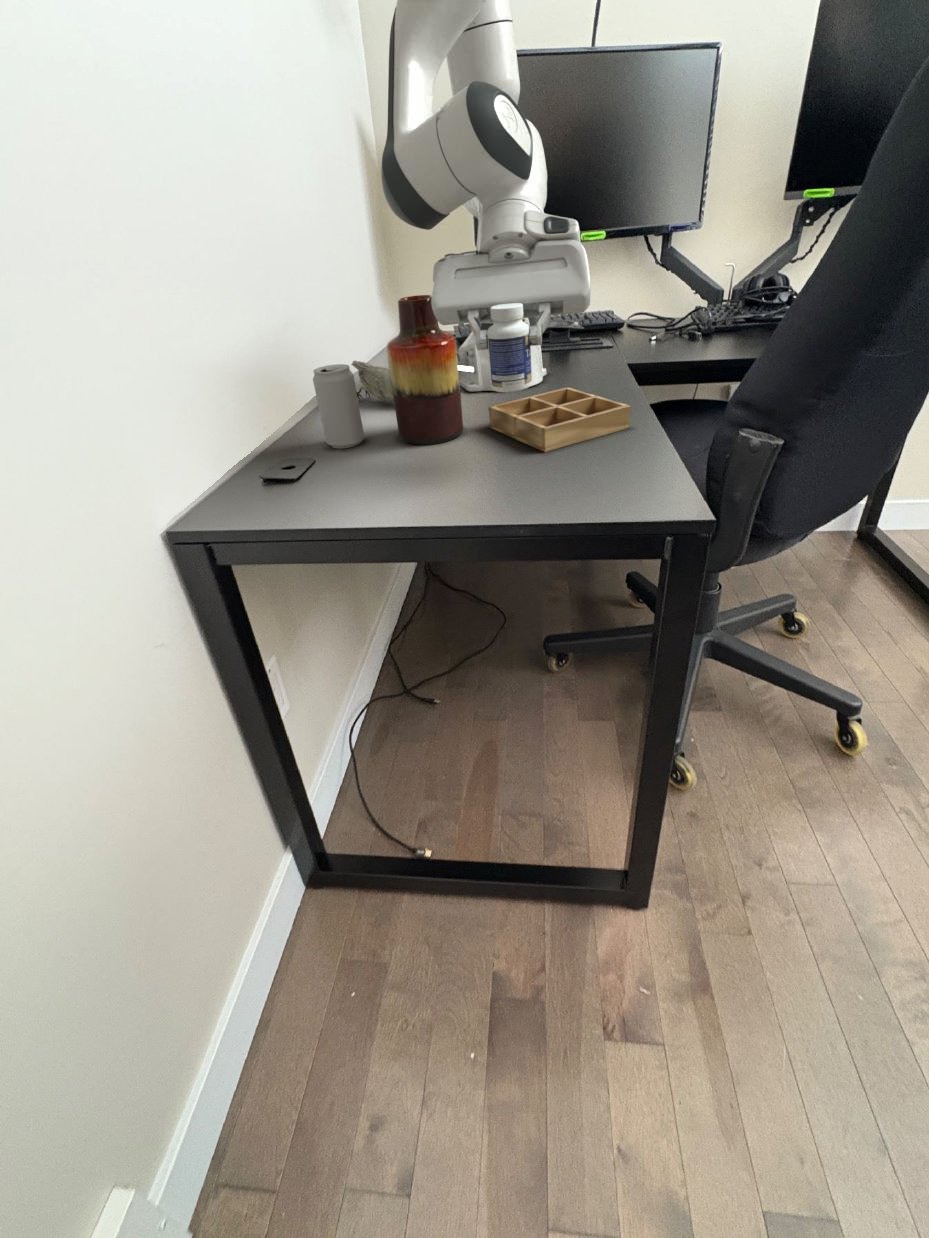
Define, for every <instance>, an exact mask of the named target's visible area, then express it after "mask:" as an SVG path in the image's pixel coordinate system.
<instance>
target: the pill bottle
mask: <svg viewBox="0 0 929 1238" xmlns="http://www.w3.org/2000/svg"><path fill="white" fill-rule="evenodd" d="M523 314H524V313H523V304H521V303H510V304H500V305H495V306H492V307H491V319H492V320H493V325H492V326H491V327H489V329H488V331H487V340H488V353H489V364H490V378H491V387H492V389H493V390H494V391H493V392H498V393H514V392H520V391H524V390H527V389H528V388H530V387H532V386H531V384H532V375H531V348H530V341H529V334H530V332H529V326H528V325H527V324H526V323H525V322H522V317H523Z"/></svg>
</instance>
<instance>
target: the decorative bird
mask: <svg viewBox="0 0 929 1238" xmlns="http://www.w3.org/2000/svg"><path fill="white" fill-rule="evenodd" d="M351 366H353V367H354V368H355V369H356V370H358V373H357V374H358V377H359V381H360V385H361V386H360V388H359V391H357V390H356V392H357V398H358V402H360V400H361V399H360V398H363V396H362V395H361V394H360V393H361V392H362V390H364V392H365V397H367V396H368V398H369V399H370V397H371V396H372V397H374V398H376V399H378V400H380V401H382V402H384V403H394V398H393V391H392V384H391V377H390V371H389V367H384V366H374V365H372V364H369V363H367V362H365V361H357V360H353V361H352V363H351Z"/></svg>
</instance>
